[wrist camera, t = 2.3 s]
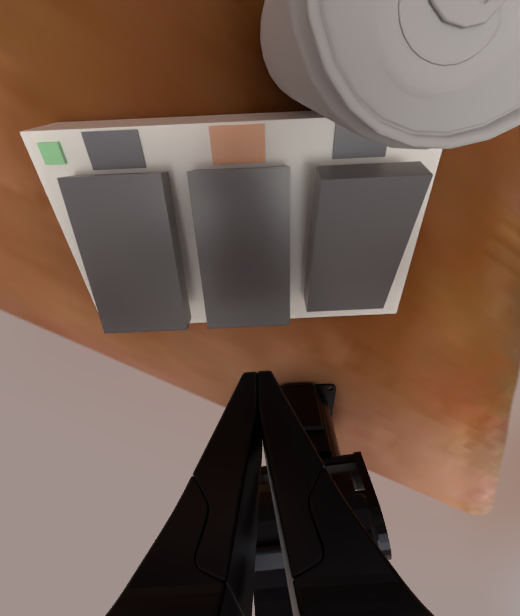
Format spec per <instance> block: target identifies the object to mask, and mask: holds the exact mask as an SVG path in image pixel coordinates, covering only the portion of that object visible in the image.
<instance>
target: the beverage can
mask: <svg viewBox="0 0 520 616" xmlns="http://www.w3.org/2000/svg"><path fill="white" fill-rule="evenodd" d="M260 42H261V48H262V54H263V59H264V62H265V64H266V67H267V69H268V72H269V74H270V76H271V78H272V79H273V80H274V82H275V83H276V85H277V86H278V87H279V89H280V90H282V91H283V92H284V93H285V94H287V95H288V96H289V97H290V98H292V99H294V100H295V101H297V102H299V103H301V104H302V105H304V106H306V107H308V108H310V109H311V110H313V111H315V112H317V113H318V114H320V115H322V116H324V117H326V118H327V119H329V120H331V121H333V122H335V123H336V124H338V125H340V126H342V127H343V128H345V129H347V130H349V131H351V132H352V133H354V134H356V135H358V136H361V137H364V138H366V139H369V140H372V141H374V142H377V143H380V144H382V145H385V146H387V147H390V148H404V149H425V150H426V149H431V148H437V149H451V148H456V147H460V146H464V145H468V144H473V143H477V142H481V141H485V140H490V139H492V138H494V137H496V136H498V135H500V134H502V133H504V132H506V131H508V130H510V129H512V128H514V127H516V126H519V125H520V0H265V2H264V7H263V11H262V16H261V28H260Z"/></svg>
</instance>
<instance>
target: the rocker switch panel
mask: <svg viewBox="0 0 520 616" xmlns="http://www.w3.org/2000/svg"><path fill="white" fill-rule="evenodd" d="M20 134H21V137H22V139H23V141H24V143H25V146H26V148H27V150H28V153H29V155H30V157H31V160H32V162H33V164H34V166H35V169H36V171H37V173H38V176H39V178H40V180H41V183H42V185H43V187H44V189H45V192H46V194H47V196H48V199H49V201H50V203H51V205H52V208H53V210H54V212H55V215H56V217H57V219H58V222H59V224H60V226H61V228H62V231H63V233H64V235H65V238H66V240H67V242H68V245H69V247H70V249H71V251H72V254H73V256H74V258H75V261H76V263H77V265H78V267H79V270H80V272H81V274H82V277H83V279H84V281H85V284H86V286H87V288H88V290H89V293H90V295H91V297H92V300H93V302H94V304H95V300H94V297H93V294H92V291H91V287H90V284H89V281H88V278H87V274H86V271H85V268H84V265H83V261H82V258H81V255H80V252H79V248H78V245H77V242H76V239H75V235H74V232H73V229H72V226H71V223H70V219H69V216H68V213H67V210H66V206H65V203H64V200H63V197H62V193H61V190H60V187H59V184H58V180H57V178H59V177H66V176H74V175H96V174H117V173H139V172H161V171H168V174H169V180H170V186H171V193H172V199H173V205H174V212H175V218H176V224H177V230H178V237H179V243H180V249H181V256H182V262H183V268H184V275H185V281H186V287H187V293H188V300H189V306H190V312H191V320H190V323H203V322H207V320H206V312H205V305H204V298H203V290H202V283H201V275H200V268H199V260H198V253H197V245H196V238H195V231H194V223H193V216H192V208H191V201H190V193H189V186H188V179H187V171H191V170H204V169H226V168H247V167H269V166H289V167H290V318H309V317H330V316H352V315H373V314H394V313H396V312H397V309H398V305H399V302H400V298H401V295H402V291H403V287H404V284H405V280H406V277H407V273H408V270H409V266H410V263H411V259H412V255H413V252H414V248H415V245H416V241H417V238H418V234H419V231H420V227H421V224H422V220H423V216H424V213H425V209H426V206H427V202H428V199H429V195H430V192H431V188H432V185H433V181H434V177H435V174H436V170H437V167H438V163H439V160H440V156H441V153H442V149H437V148H431V149H426V150H425V149H404V148H390V147H387V146H385V145H382V144H380V143H377V142H374V141H372V140H369V139H366V138H364V137H361V136H358V135H356V134H354V133H352V132H351V131H349V130H347V129H345V128H343V127H342V126H340V125H338V124H336V123H335V122H333V121H331V120H329V119H327V118H326V117H324V116H322V115H320V114H318V113H317V112H315V111H293V112H271V113H249V114H227V115H206V116H184V117H162V118H140V119H118V120H97V121H75V122H56V123H52V124H48V125H44V126H40V127H36V128H32V129H28V130H24V131H20ZM414 161H420V162H421V163H422V164H423V165H424V166H425V167H426V168H427V169H428V170H429V171H430V172H431V173H432V174H433V176H432V179H431V182H430V185H429V187H428V190H427V193H426V195H425V198H424V201H423V203H422V206H421V209H420V211H419V214H418V217H417V219H416V222H415V225H414V227H413V230H412V233H411V235H410V238H409V241H408V244H407V246H406V249H405V252H404V254H403V257H402V260H401V262H400V265H399V268H398V270H397V273H396V276H395V278H394V281H393V284H392V286H391V289H390V292H389V294H388V297H387V300H386V302H385V305H384V308H381V309H360V310H339V311H317V312H307V311H306V306H305V301H304V287H305V277H306V266H307V256H308V246H309V236H310V226H311V216H312V206H313V195H314V185H315V175H316V166H327V165H349V164H371V163H392V162H414ZM95 307H96V304H95ZM96 309H97V307H96ZM97 311H98V310H97Z"/></svg>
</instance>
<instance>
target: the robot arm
mask: <svg viewBox="0 0 520 616" xmlns="http://www.w3.org/2000/svg"><path fill="white" fill-rule="evenodd" d="M329 387H332V389H330V390H329V389H327V388H329ZM335 392H336V386H335V385H334V384H300V385H284V386H280V385H279V384H278V382H277V380H276V378H275V377H274V375H273V373H272V372H271V371H259V372H258V374H257V372H245V373H244V374H243V375H242V377H241V379H240V381H239V383H238V385H237V387H236V389H235V391H234V393H233V395H232V397H231V399H230V401H229V403H228V405H227V407H226V409H225V411H224V413H223V415H222V417H221V419H220V421H219V423H218V425H217V427H216V429H215V431H214V433H213V435H212V437H211V439H210V441H209V443H208V445H207V447H206V449H205V451H204V453H203V455H202V457H201V459H200V460H199V463H198V464H197V467H196V468H195V471H194V473H193V476H192V477H191V478H190V480H189V482H188V484H187V486H186V488H185V490H184V492H183V494H182V496H181V498H180V499H179V501H178V503H177V505H176V507H175V509H174V511H173V512H172V514H171V516H170V517H169V519H168V521H167V522H166V524H165V526H164V527H163V529H162V531H161V532H160V534H159V535H158V537H157V539H156V540H155V542H154V543H153V545H152V546H151V548H150V550H149V551H148V553H147V554H146V556H145V558H144V559H143V561H142V562H141V564H140V565H139V567H138V569H137V570H136V572H135V573H134V575H133V576H132V578H131V580H130V581H129V583H128V584H127V586H126V588H125V589H124V591H123V592H122V593H121V595H120V597H119V598H118V599H117V601H116V602H115V604H114V605H113V606H112V608H111V609H110V610H109V612H108V613H107V614H106V616H252V602H253V595H254V605H255V616H434V615H433V614H432V613H431V612H430V611H429V610H428V609H427V608H426V607H425V606H424V605H423V604H422V603H421V602H420V600H419V599H418V598H417V597H416V596H415V595H414V593H413V592H412V591H411V590H410V588H409V587H408V586H407V585H406V584H405V582H404V581H403V580H402V579H401V577H400V576H399V574H398V573H397V572H396V570H395V569H394V568H393V566H392V565H391V564H390V562H389V561H388V560H391V548H390V543H389V539H388V534H387V530H386V527H385V522H384V519H383V515H382V512H381V508H380V505H379V502H378V500H377V496H376V494H375V491H374V488H373V485H372V483H371V480H370V477H369V474H368V471H367V469H366V466H365V463H364V460H363V457H362V455H361V452H353V454H349V455H341V456H340V451H339V447H338V443H337V439H336V435H335V431H334V427H333V422H332V418H331V416H332V410H333V404H334V398H335ZM262 440H263V447H264V453H265V459H266V465H267V466H263V467H261V463H262ZM355 490H357V491H355Z"/></svg>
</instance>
